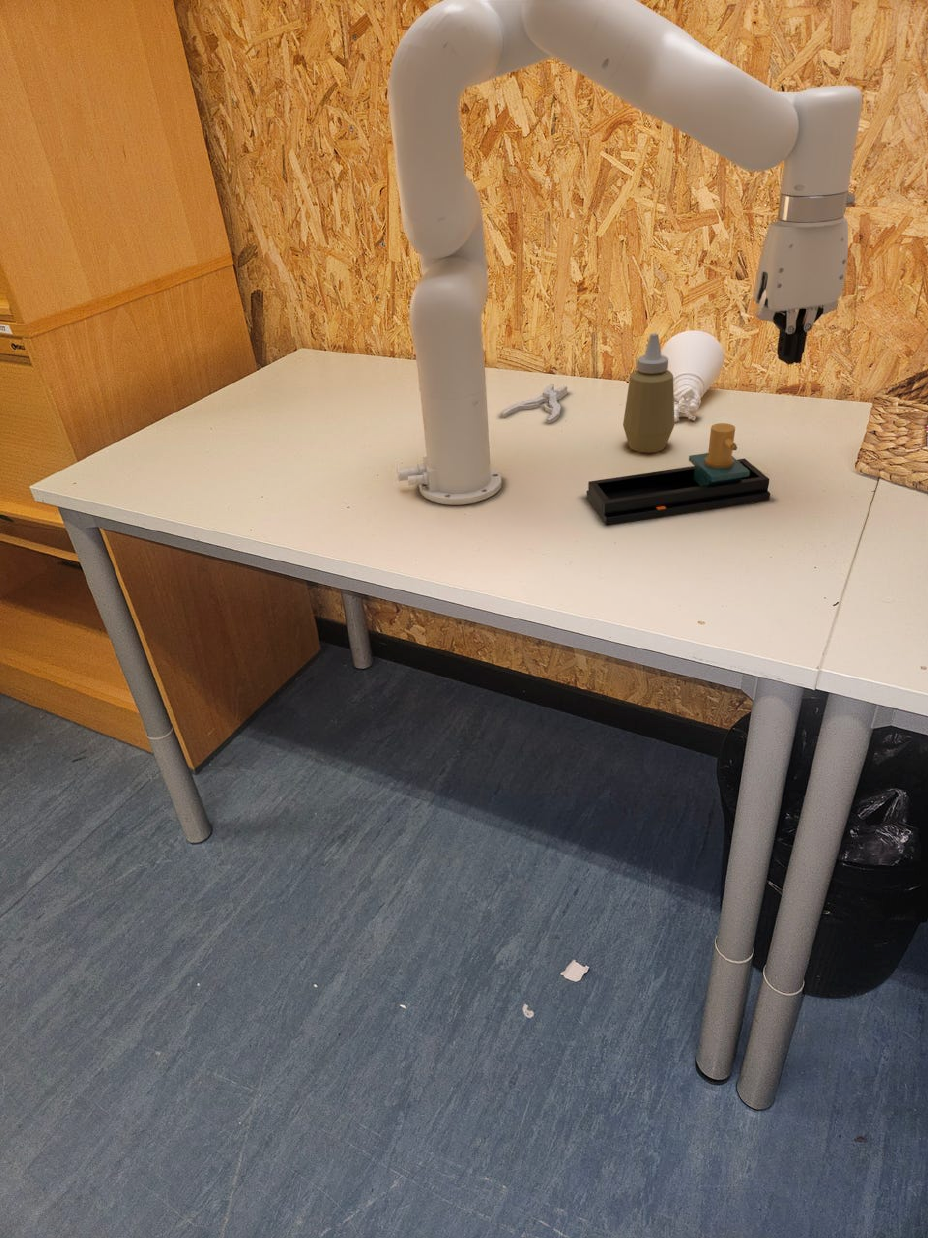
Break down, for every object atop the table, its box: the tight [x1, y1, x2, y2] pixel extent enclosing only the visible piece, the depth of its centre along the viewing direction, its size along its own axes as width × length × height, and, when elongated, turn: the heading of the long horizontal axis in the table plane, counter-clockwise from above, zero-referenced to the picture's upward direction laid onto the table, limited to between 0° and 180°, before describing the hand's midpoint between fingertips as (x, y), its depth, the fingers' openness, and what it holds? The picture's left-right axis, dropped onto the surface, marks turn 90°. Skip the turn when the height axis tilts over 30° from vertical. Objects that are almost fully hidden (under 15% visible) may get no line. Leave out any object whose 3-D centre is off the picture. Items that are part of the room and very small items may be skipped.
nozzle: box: [688, 422, 750, 486], centre depth 115 cm, size 6×8×8 cm
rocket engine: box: [661, 330, 725, 423], centre depth 144 cm, size 12×12×18 cm
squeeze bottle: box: [622, 333, 675, 453], centre depth 128 cm, size 8×8×18 cm
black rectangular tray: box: [585, 458, 771, 526], centre depth 117 cm, size 24×9×3 cm, turn 101°
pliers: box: [501, 383, 568, 425], centre depth 151 cm, size 10×2×15 cm
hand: (789, 360), depth 109 cm, fingers closed
